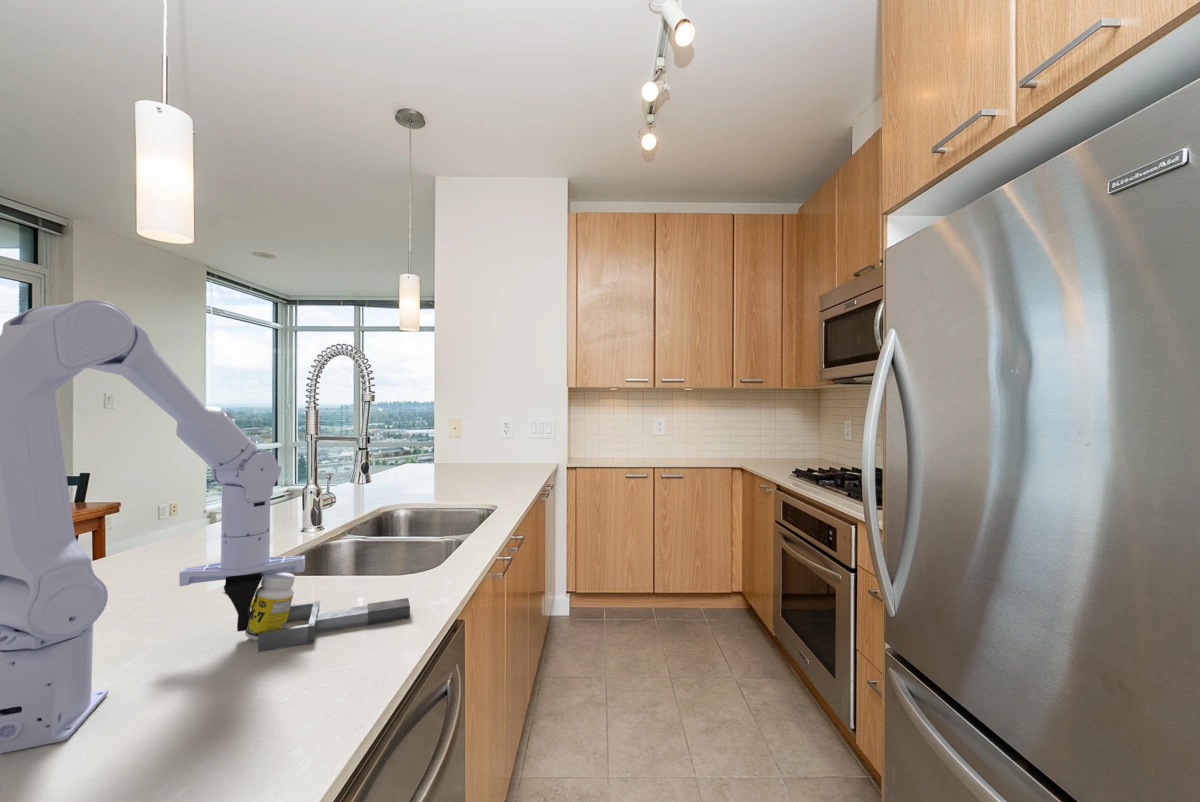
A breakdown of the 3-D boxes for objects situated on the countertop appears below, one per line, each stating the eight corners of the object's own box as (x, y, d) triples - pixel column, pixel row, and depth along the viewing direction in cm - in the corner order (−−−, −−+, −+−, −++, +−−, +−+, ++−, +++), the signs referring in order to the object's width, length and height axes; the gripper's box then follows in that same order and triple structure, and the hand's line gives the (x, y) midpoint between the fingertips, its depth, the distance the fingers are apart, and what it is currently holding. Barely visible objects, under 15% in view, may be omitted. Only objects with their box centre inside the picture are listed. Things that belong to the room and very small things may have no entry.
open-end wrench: (411, 626, 77) (412, 610, 77) (257, 651, 68) (258, 633, 68) (406, 603, 86) (406, 589, 86) (269, 623, 77) (270, 607, 78)
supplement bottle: (238, 631, 72) (254, 572, 73) (273, 625, 76) (287, 569, 77) (254, 644, 70) (270, 582, 70) (289, 637, 74) (304, 578, 74)
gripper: (307, 521, 79) (306, 609, 79) (190, 531, 73) (189, 626, 73) (302, 532, 73) (301, 627, 73) (174, 543, 66) (173, 647, 66)
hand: (244, 628), depth 72 cm, fingers closed, pressing on supplement bottle
